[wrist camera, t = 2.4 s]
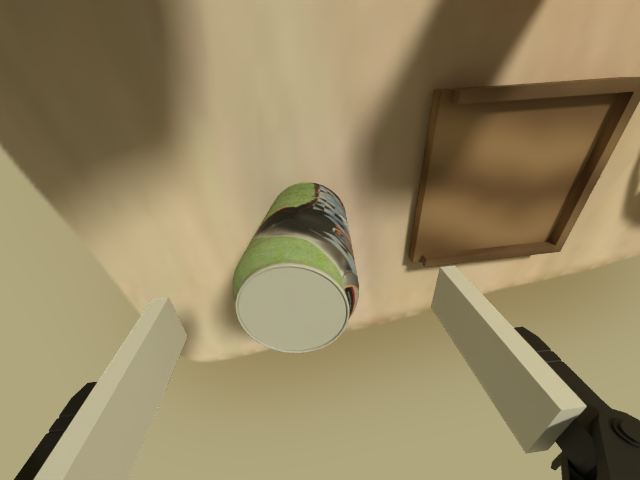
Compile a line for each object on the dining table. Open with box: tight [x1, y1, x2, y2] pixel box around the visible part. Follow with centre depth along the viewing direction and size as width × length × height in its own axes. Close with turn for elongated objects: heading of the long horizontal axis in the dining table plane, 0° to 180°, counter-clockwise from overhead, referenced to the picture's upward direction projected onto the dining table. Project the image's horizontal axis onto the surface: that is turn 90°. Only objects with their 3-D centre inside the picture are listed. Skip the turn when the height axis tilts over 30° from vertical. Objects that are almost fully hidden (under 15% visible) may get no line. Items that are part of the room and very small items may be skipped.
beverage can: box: [233, 183, 359, 353], centre depth 16 cm, size 6×7×12 cm
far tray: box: [409, 77, 640, 267], centre depth 21 cm, size 14×14×2 cm
